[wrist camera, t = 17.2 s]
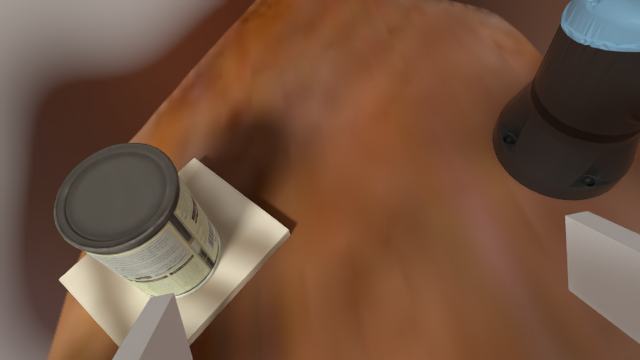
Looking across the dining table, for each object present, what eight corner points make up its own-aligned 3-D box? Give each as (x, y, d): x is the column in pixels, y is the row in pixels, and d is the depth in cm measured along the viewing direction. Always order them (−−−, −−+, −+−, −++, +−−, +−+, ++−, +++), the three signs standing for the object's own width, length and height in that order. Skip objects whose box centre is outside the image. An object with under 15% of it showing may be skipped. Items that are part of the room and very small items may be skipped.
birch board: (198, 164, 56) (194, 157, 55) (290, 235, 50) (288, 229, 49) (66, 283, 49) (58, 279, 48) (155, 383, 43) (149, 381, 42)
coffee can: (114, 248, 50) (36, 185, 37) (194, 197, 52) (145, 123, 40) (153, 322, 45) (79, 277, 33) (239, 262, 48) (199, 200, 36)
